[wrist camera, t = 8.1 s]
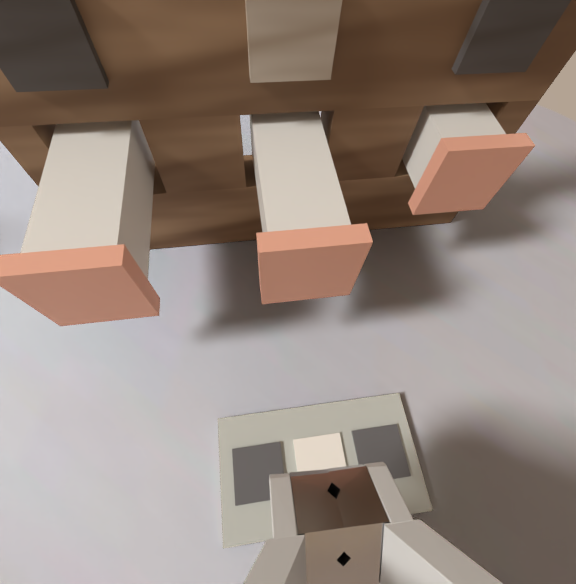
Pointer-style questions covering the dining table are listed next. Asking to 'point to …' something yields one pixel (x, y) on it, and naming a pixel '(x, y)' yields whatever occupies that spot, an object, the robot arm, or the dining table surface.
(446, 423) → the dining table surface
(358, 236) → the button middle
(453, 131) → the button far
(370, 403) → the card
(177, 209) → the console
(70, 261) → the button near
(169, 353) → the dining table surface
